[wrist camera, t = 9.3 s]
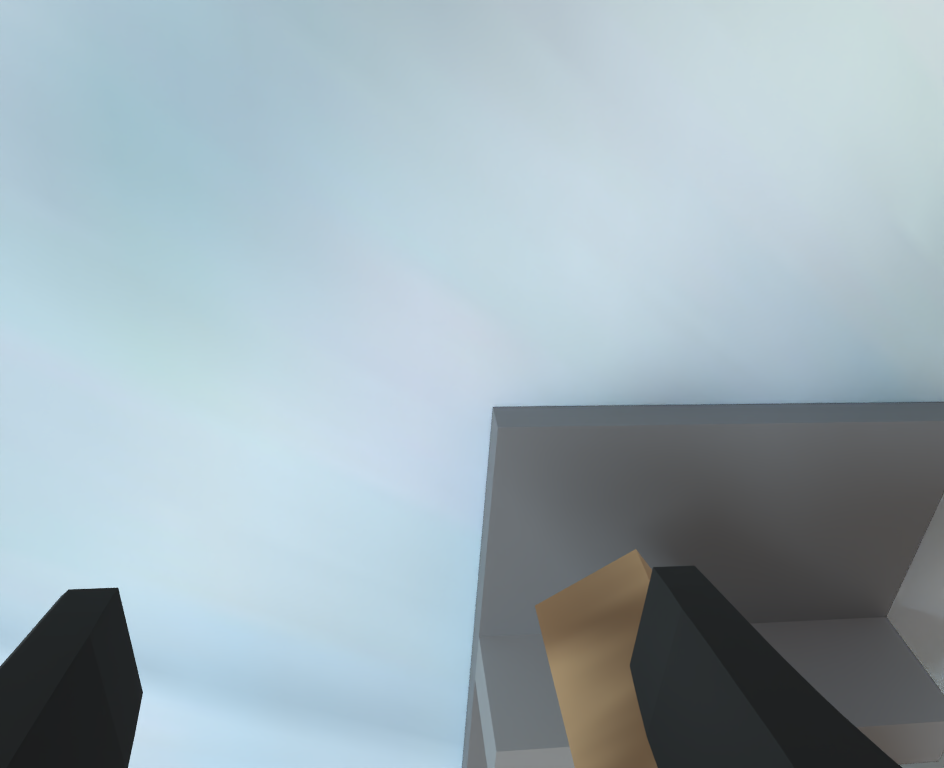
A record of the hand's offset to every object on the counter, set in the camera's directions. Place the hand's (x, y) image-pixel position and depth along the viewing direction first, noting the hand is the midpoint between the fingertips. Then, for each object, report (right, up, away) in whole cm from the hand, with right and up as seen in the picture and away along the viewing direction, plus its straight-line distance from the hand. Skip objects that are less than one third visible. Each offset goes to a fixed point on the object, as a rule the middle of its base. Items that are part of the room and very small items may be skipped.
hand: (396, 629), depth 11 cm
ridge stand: (+8, -5, +16) cm, 19 cm away
